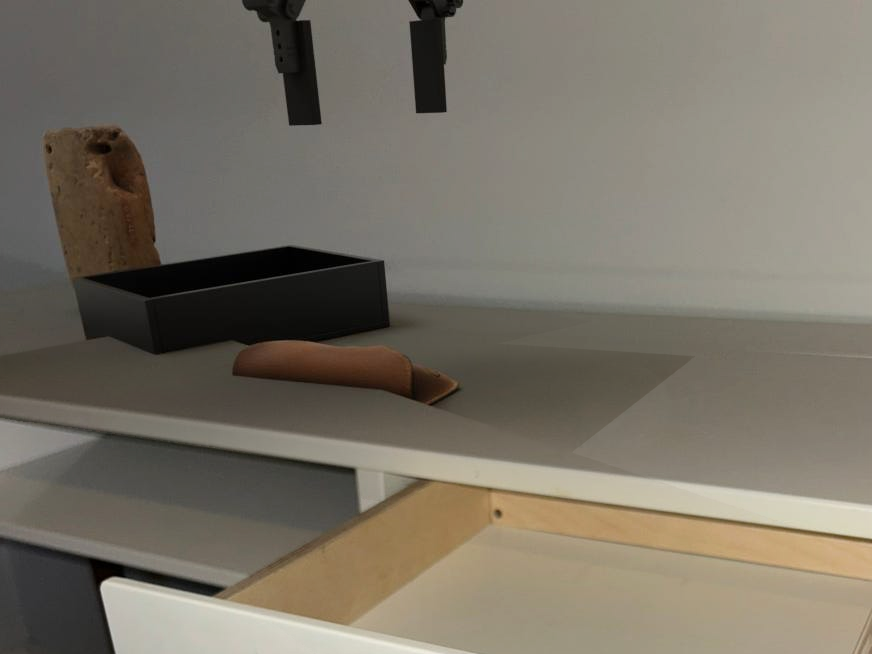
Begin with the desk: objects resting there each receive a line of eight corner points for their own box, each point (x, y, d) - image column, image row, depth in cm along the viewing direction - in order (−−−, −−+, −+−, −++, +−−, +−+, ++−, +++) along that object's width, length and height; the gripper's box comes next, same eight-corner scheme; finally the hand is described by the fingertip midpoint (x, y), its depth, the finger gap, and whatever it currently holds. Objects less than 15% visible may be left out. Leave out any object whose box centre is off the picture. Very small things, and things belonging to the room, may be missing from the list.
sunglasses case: (466, 379, 89) (441, 317, 83) (434, 442, 86) (406, 382, 80) (291, 365, 97) (258, 307, 91) (256, 423, 94) (219, 367, 88)
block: (70, 314, 128) (28, 129, 118) (118, 302, 133) (81, 124, 124) (134, 319, 123) (95, 126, 113) (181, 306, 128) (147, 122, 119)
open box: (158, 373, 99) (144, 300, 96) (86, 342, 113) (71, 277, 110) (390, 326, 112) (384, 260, 109) (299, 303, 126) (291, 244, 123)
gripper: (227, -278, 61) (279, 130, 71) (500, -218, 78) (511, 107, 88) (151, -249, 66) (210, 131, 76) (424, -198, 82) (443, 109, 92)
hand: (371, 119), depth 82 cm, fingers open, 13 cm apart
